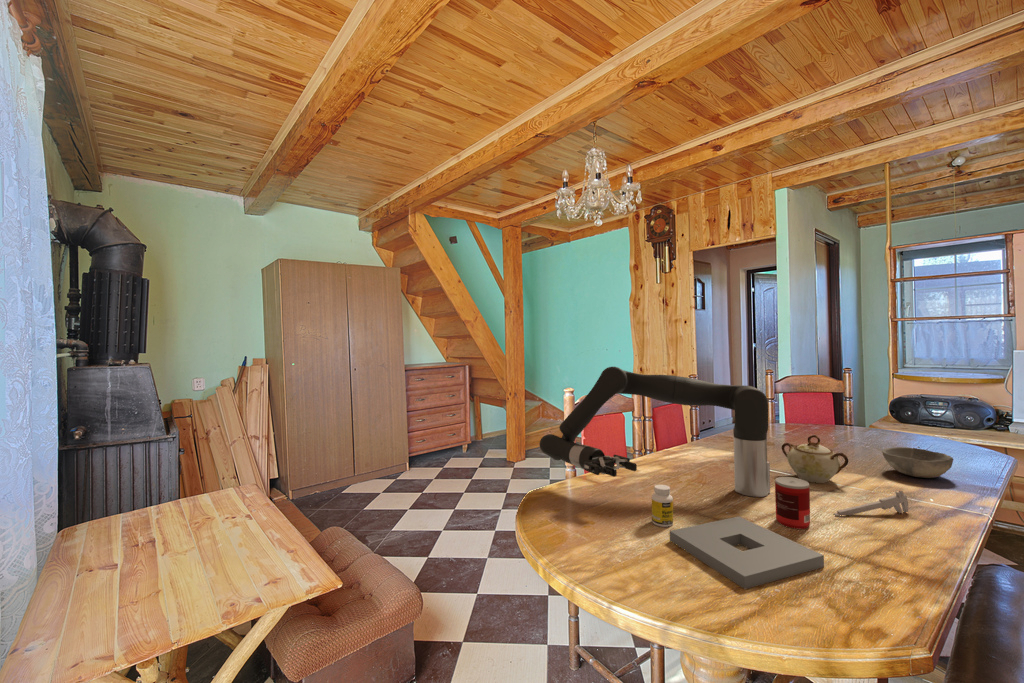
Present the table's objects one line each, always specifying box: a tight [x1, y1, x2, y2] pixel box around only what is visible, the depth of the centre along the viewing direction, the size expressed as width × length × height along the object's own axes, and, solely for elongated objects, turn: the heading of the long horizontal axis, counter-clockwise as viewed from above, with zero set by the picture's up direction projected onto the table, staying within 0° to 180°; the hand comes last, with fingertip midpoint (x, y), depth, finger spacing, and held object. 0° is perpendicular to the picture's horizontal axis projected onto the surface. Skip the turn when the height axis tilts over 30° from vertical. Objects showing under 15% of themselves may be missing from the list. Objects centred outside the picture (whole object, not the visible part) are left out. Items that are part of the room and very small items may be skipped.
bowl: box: [881, 446, 954, 479], centre depth 149 cm, size 18×18×8 cm
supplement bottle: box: [651, 484, 674, 528], centre depth 117 cm, size 5×5×10 cm
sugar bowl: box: [781, 434, 849, 484], centre depth 148 cm, size 20×15×15 cm
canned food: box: [774, 476, 811, 530], centre depth 115 cm, size 8×8×11 cm
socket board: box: [669, 515, 825, 590], centre depth 100 cm, size 22×22×2 cm
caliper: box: [832, 490, 909, 517], centre depth 119 cm, size 20×1×6 cm, turn 92°
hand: (626, 470), depth 126 cm, fingers open, 8 cm apart
